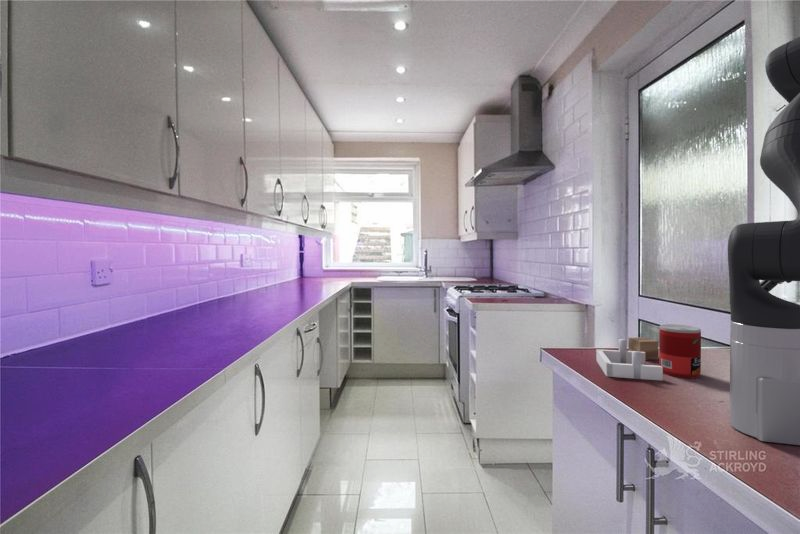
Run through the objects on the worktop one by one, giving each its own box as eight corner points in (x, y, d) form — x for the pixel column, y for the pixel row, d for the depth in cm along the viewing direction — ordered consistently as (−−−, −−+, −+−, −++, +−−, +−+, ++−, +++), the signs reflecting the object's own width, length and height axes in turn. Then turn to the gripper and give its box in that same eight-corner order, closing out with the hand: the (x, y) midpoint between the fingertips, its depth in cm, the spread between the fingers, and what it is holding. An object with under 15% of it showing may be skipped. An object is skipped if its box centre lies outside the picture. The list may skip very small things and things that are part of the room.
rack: (663, 381, 86) (663, 354, 86) (606, 376, 89) (606, 351, 89) (643, 362, 100) (643, 340, 100) (595, 359, 104) (595, 337, 103)
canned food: (701, 380, 86) (701, 331, 86) (658, 374, 91) (658, 328, 90) (700, 372, 92) (700, 326, 92) (660, 366, 97) (660, 323, 96)
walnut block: (658, 359, 103) (658, 341, 103) (640, 360, 103) (640, 341, 103) (645, 354, 108) (645, 337, 108) (628, 355, 108) (628, 337, 108)
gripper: (772, 226, 91) (715, 276, 95) (819, 223, 77) (750, 282, 81) (800, 247, 90) (742, 297, 93) (853, 248, 76) (781, 307, 80)
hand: (746, 290), depth 87 cm, fingers open, 8 cm apart
